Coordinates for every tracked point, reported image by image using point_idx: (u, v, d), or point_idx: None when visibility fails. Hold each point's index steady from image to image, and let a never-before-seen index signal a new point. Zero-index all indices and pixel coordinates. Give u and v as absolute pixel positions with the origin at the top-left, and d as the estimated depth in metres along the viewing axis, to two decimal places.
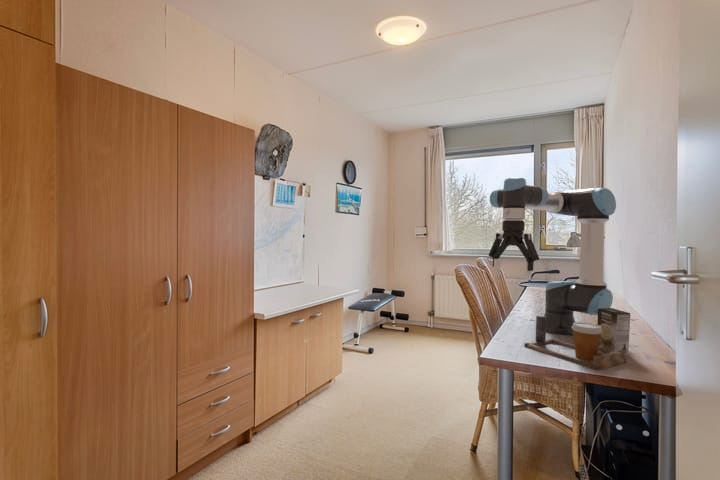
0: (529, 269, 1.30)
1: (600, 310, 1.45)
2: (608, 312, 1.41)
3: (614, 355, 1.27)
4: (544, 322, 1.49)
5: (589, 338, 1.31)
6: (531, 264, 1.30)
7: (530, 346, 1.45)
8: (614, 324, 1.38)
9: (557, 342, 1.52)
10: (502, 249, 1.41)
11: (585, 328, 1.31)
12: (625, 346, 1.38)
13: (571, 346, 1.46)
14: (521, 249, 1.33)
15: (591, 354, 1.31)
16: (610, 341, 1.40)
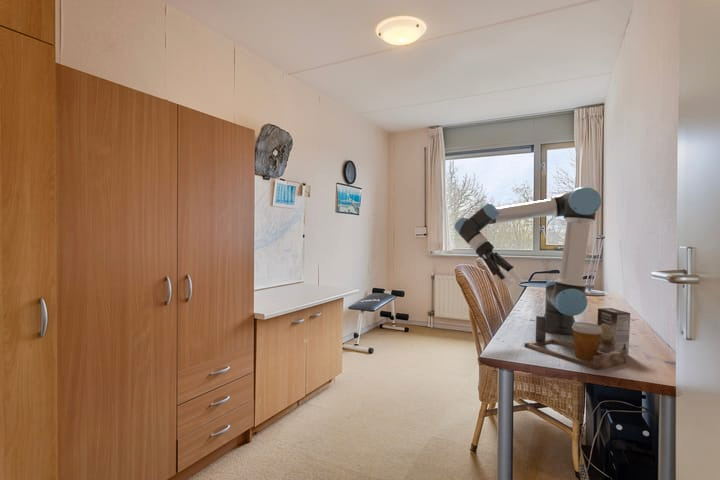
0: None
1: (600, 310, 1.45)
2: (608, 312, 1.41)
3: (614, 355, 1.27)
4: (544, 322, 1.49)
5: (589, 338, 1.31)
6: (498, 274, 1.53)
7: (530, 346, 1.45)
8: (614, 324, 1.38)
9: (557, 342, 1.52)
10: (501, 264, 1.65)
11: (585, 328, 1.31)
12: (625, 346, 1.38)
13: (571, 346, 1.46)
14: None
15: (591, 354, 1.31)
16: (610, 341, 1.40)
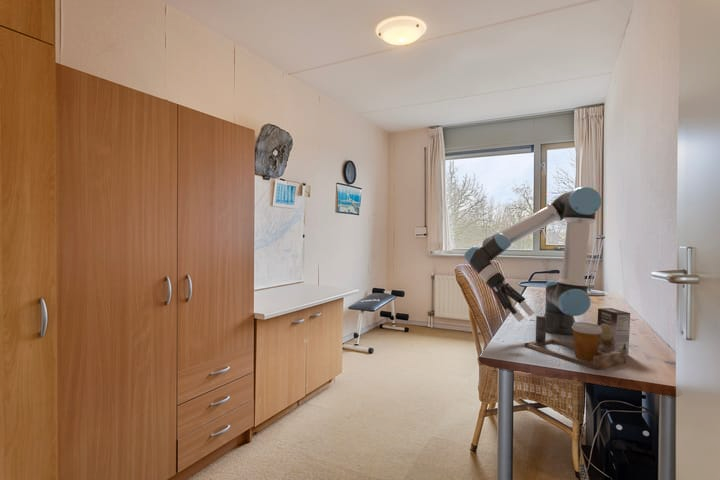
0: None
1: (600, 310, 1.45)
2: (608, 312, 1.41)
3: (614, 355, 1.27)
4: (544, 322, 1.49)
5: (589, 338, 1.31)
6: (510, 309, 1.50)
7: (530, 346, 1.45)
8: (614, 324, 1.38)
9: (557, 342, 1.52)
10: (512, 296, 1.61)
11: (585, 328, 1.31)
12: (625, 346, 1.38)
13: (571, 346, 1.46)
14: None
15: (591, 354, 1.31)
16: (610, 341, 1.40)
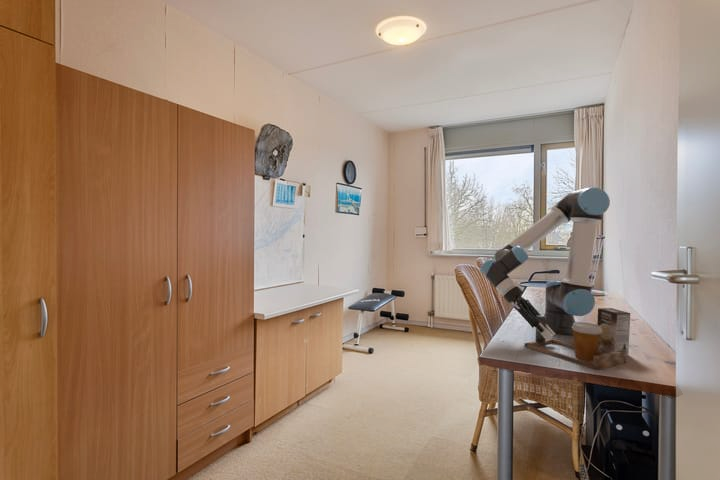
0: None
1: (600, 310, 1.45)
2: (608, 312, 1.41)
3: (614, 355, 1.27)
4: (544, 322, 1.49)
5: (589, 338, 1.31)
6: (537, 327, 1.48)
7: (530, 346, 1.45)
8: (614, 324, 1.38)
9: (557, 342, 1.52)
10: (530, 313, 1.55)
11: (585, 328, 1.31)
12: (625, 346, 1.38)
13: (571, 346, 1.46)
14: None
15: (591, 354, 1.31)
16: (610, 341, 1.40)
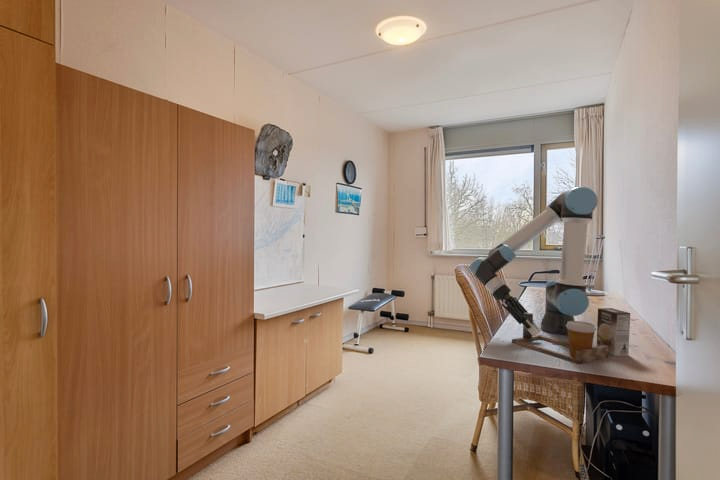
0: None
1: (600, 310, 1.45)
2: (608, 312, 1.41)
3: (596, 350, 1.32)
4: (531, 319, 1.54)
5: (583, 337, 1.32)
6: (524, 324, 1.53)
7: (517, 342, 1.50)
8: (614, 324, 1.38)
9: (544, 338, 1.57)
10: None
11: (579, 327, 1.33)
12: (625, 346, 1.38)
13: (557, 342, 1.52)
14: None
15: None
16: (610, 341, 1.40)
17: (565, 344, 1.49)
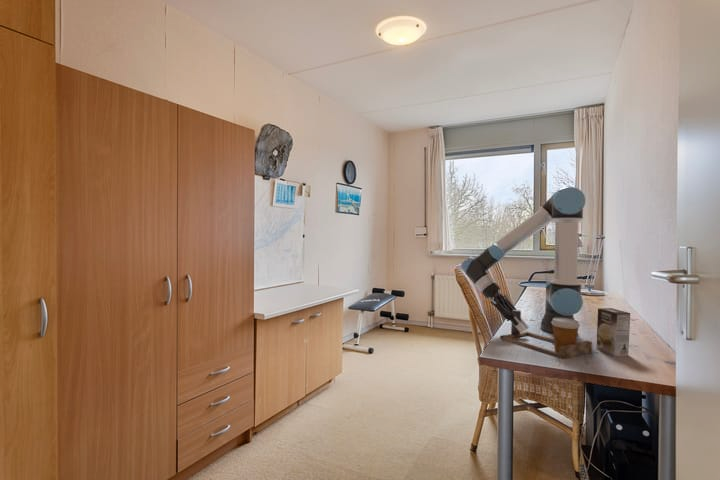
0: None
1: (600, 310, 1.45)
2: (608, 312, 1.41)
3: (579, 345, 1.38)
4: (519, 316, 1.59)
5: (567, 332, 1.38)
6: (512, 320, 1.58)
7: (505, 338, 1.55)
8: (614, 324, 1.38)
9: (531, 335, 1.62)
10: (507, 308, 1.65)
11: (563, 323, 1.38)
12: (625, 346, 1.38)
13: (544, 338, 1.57)
14: None
15: None
16: (610, 341, 1.40)
17: (551, 340, 1.54)
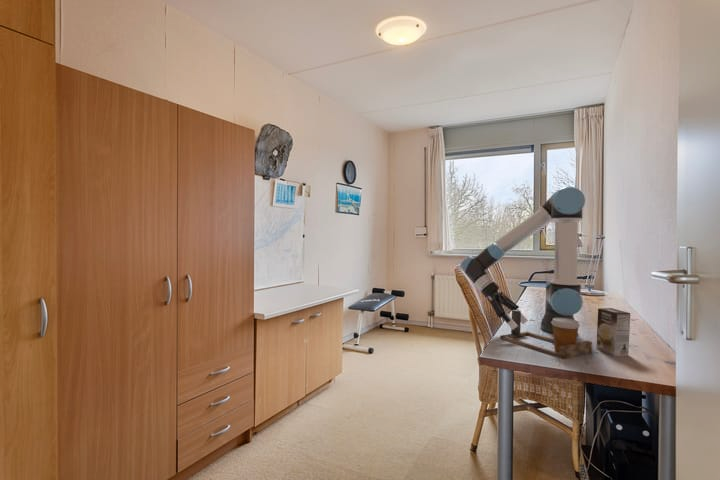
0: None
1: (600, 310, 1.45)
2: (608, 312, 1.41)
3: (579, 345, 1.38)
4: (519, 316, 1.59)
5: (567, 333, 1.38)
6: (504, 317, 1.56)
7: (505, 338, 1.55)
8: (614, 324, 1.38)
9: (531, 335, 1.62)
10: (506, 304, 1.68)
11: (563, 323, 1.38)
12: (625, 346, 1.38)
13: (543, 338, 1.57)
14: None
15: None
16: (610, 341, 1.40)
17: (551, 340, 1.54)
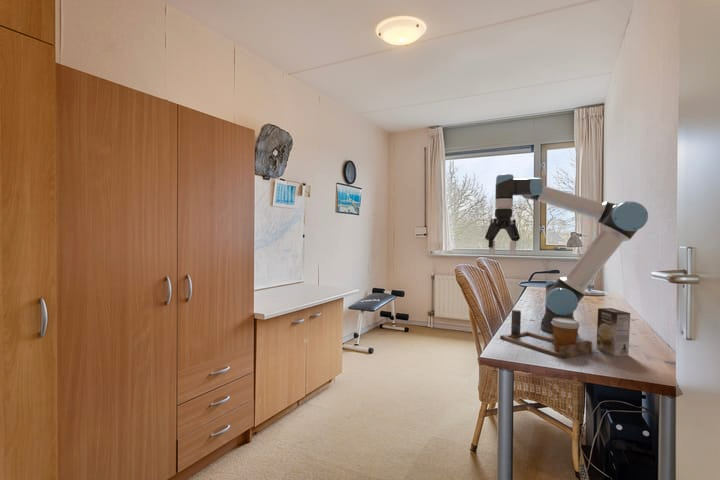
0: None
1: (600, 310, 1.45)
2: (608, 312, 1.41)
3: (579, 345, 1.38)
4: (519, 316, 1.59)
5: (567, 333, 1.38)
6: (489, 242, 1.68)
7: (505, 338, 1.55)
8: (614, 324, 1.38)
9: (531, 335, 1.62)
10: (509, 232, 1.74)
11: (563, 323, 1.38)
12: (625, 346, 1.38)
13: (543, 338, 1.57)
14: None
15: None
16: (610, 341, 1.40)
17: (551, 340, 1.54)
